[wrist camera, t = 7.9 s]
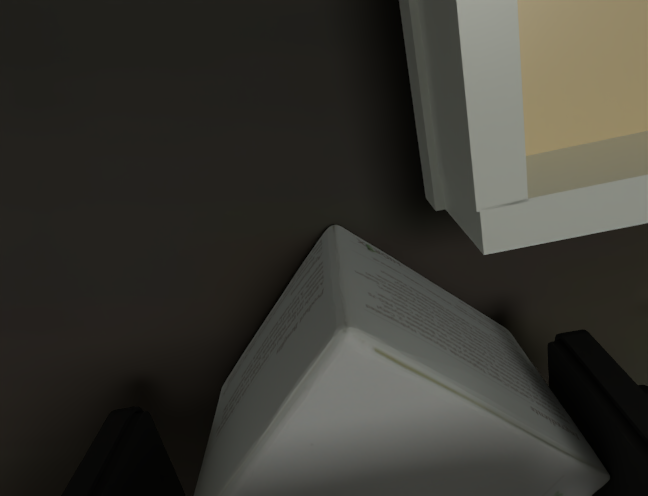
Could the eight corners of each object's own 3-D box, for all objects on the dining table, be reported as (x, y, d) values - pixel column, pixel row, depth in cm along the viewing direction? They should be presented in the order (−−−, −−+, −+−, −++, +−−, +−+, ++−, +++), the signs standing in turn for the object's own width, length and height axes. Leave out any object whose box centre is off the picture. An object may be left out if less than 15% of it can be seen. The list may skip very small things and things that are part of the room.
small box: (390, 470, 14) (424, 665, 10) (215, 386, 13) (162, 563, 8) (517, 326, 12) (632, 481, 8) (329, 214, 11) (339, 322, 7)
